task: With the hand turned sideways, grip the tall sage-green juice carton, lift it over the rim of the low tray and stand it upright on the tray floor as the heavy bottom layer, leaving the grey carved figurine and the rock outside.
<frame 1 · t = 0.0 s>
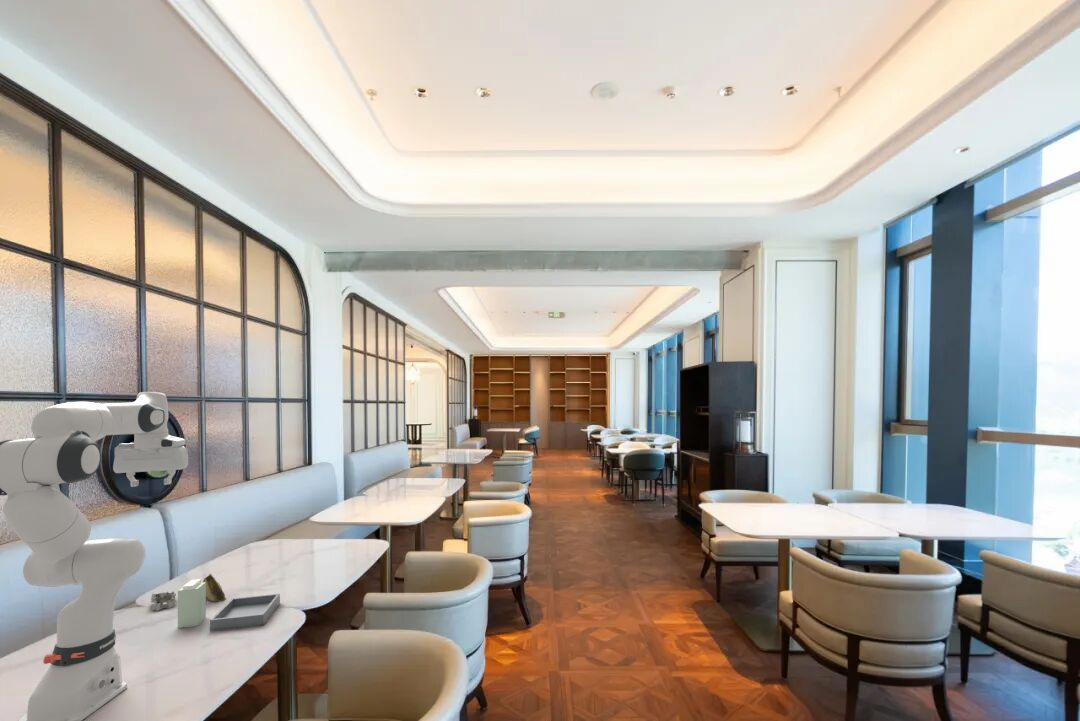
hand: (151, 485, 166), 48 cm above the table, tool pointing down, fingers open, 8 cm apart
rock: (213, 598, 195), on the table
juice carton: (192, 622, 174), on the table
tray: (246, 616, 177), on the table
grey carved figurine: (163, 606, 190), on the table
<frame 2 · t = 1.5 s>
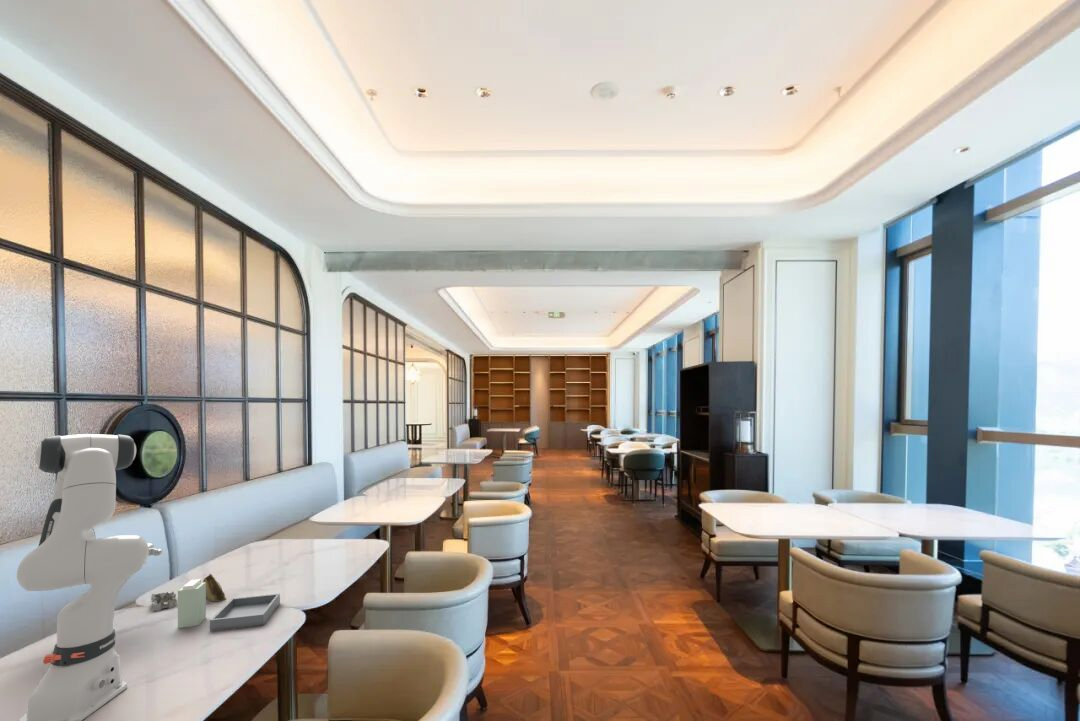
hand: (153, 556, 173), 23 cm above the table, tool horizontal, fingers open, 8 cm apart
nothing on the table moved.
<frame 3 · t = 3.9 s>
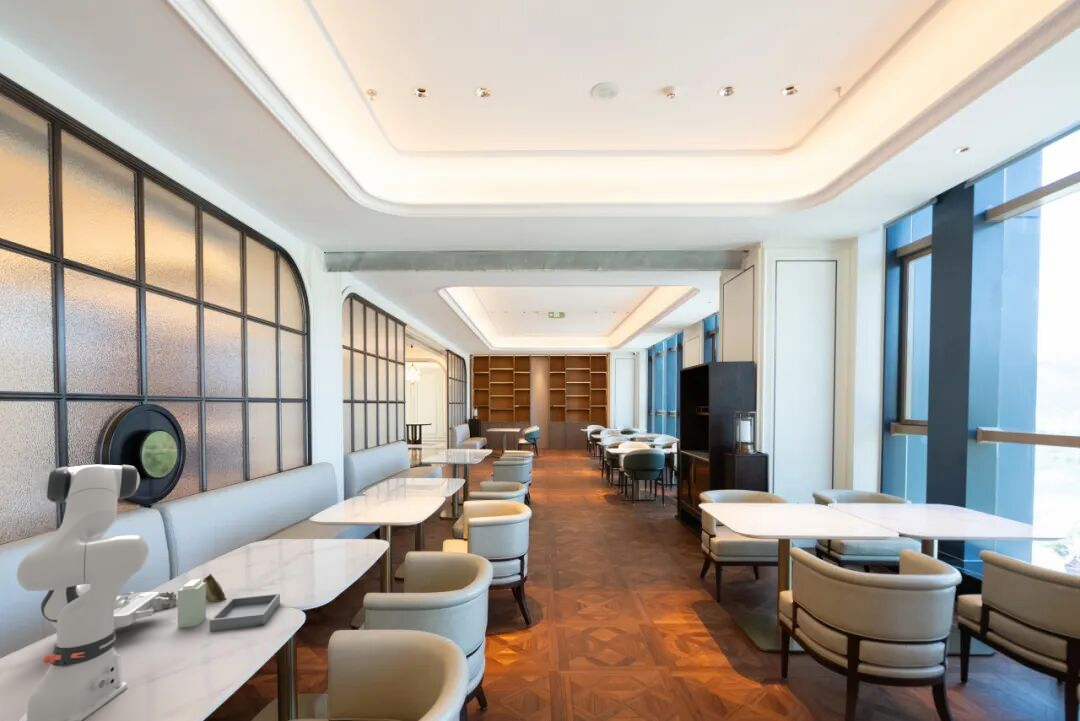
hand: (161, 606, 172), 6 cm above the table, tool horizontal, fingers open, 8 cm apart
nothing on the table moved.
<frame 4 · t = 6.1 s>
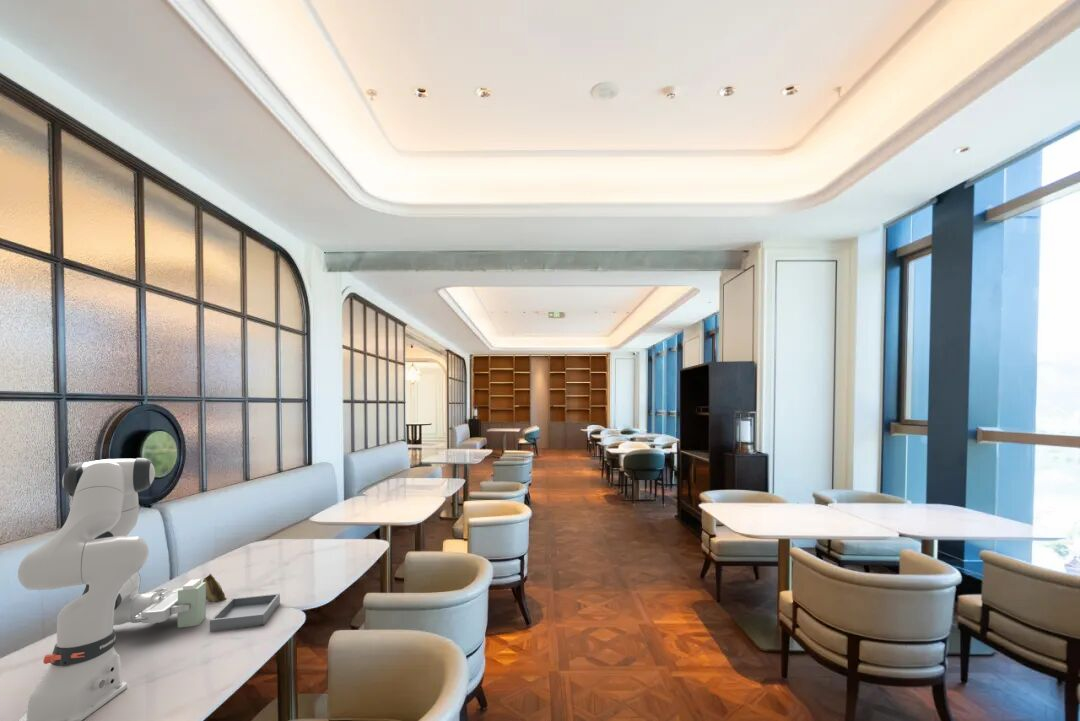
hand: (195, 602, 175), 7 cm above the table, tool horizontal, fingers closed on juice carton, 6 cm apart
juice carton: (192, 622, 174), on the table, touching gripper
everything else where it was.
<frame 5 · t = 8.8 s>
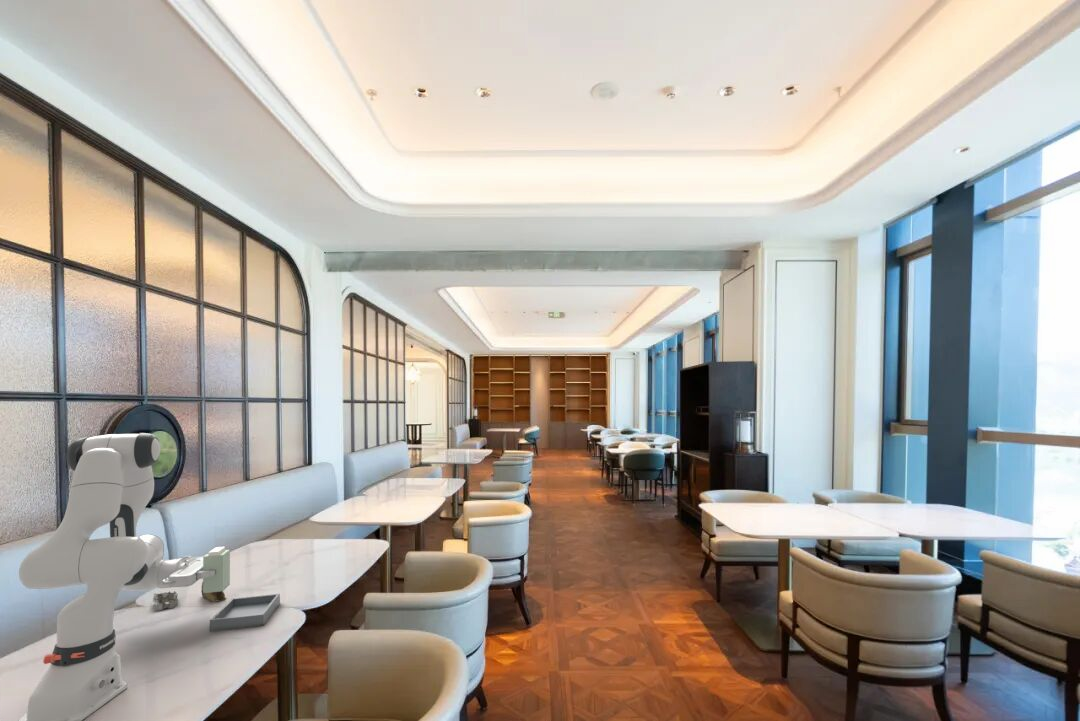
hand: (219, 569, 177), 17 cm above the table, tool horizontal, fingers closed on juice carton, 6 cm apart
juice carton: (216, 588, 176), point 10 cm above the table, touching gripper
everything else where it was.
when the fingers open (9 cm above the table, at t = 11.5 s): juice carton drops 1 cm, resting on tray.
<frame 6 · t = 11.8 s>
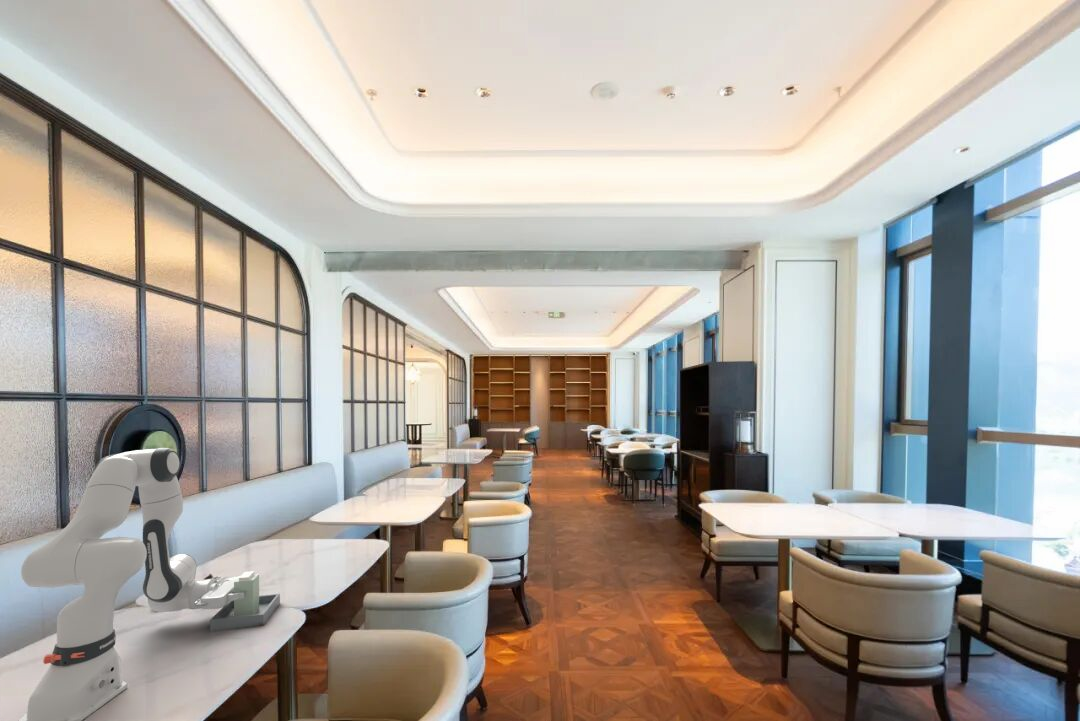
hand: (249, 589, 178), 9 cm above the table, tool horizontal, fingers open, 8 cm apart
juice carton: (246, 613, 177), point 1 cm above the table, touching tray
everything else where it was.
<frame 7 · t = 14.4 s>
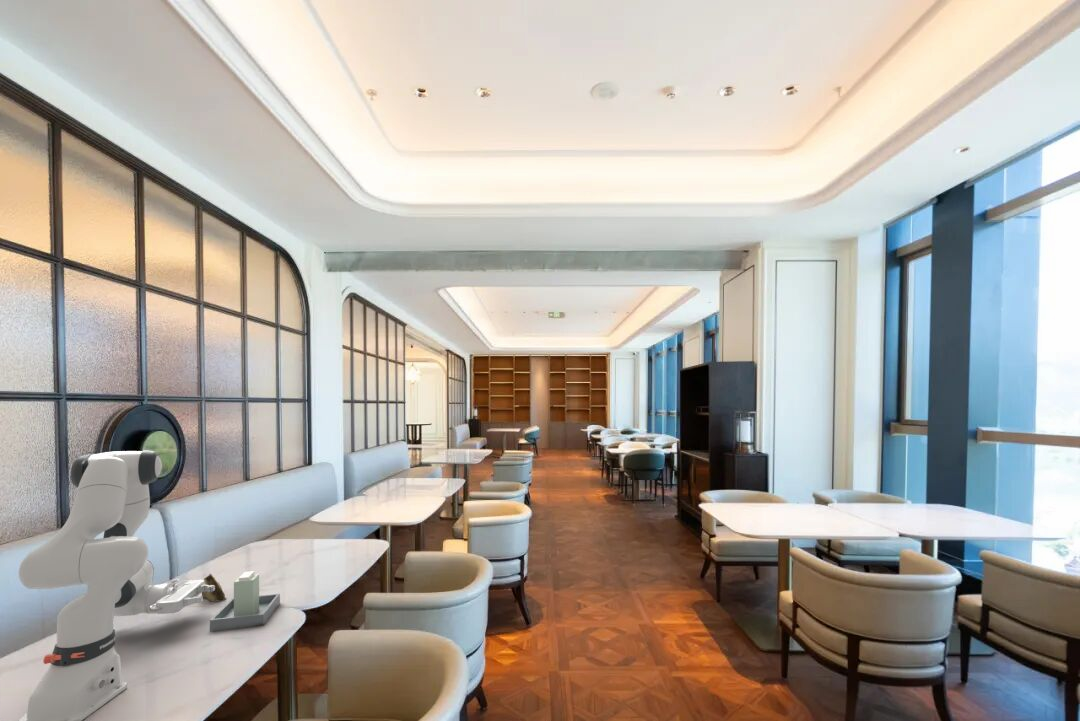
hand: (208, 593, 175), 9 cm above the table, tool horizontal, fingers open, 8 cm apart
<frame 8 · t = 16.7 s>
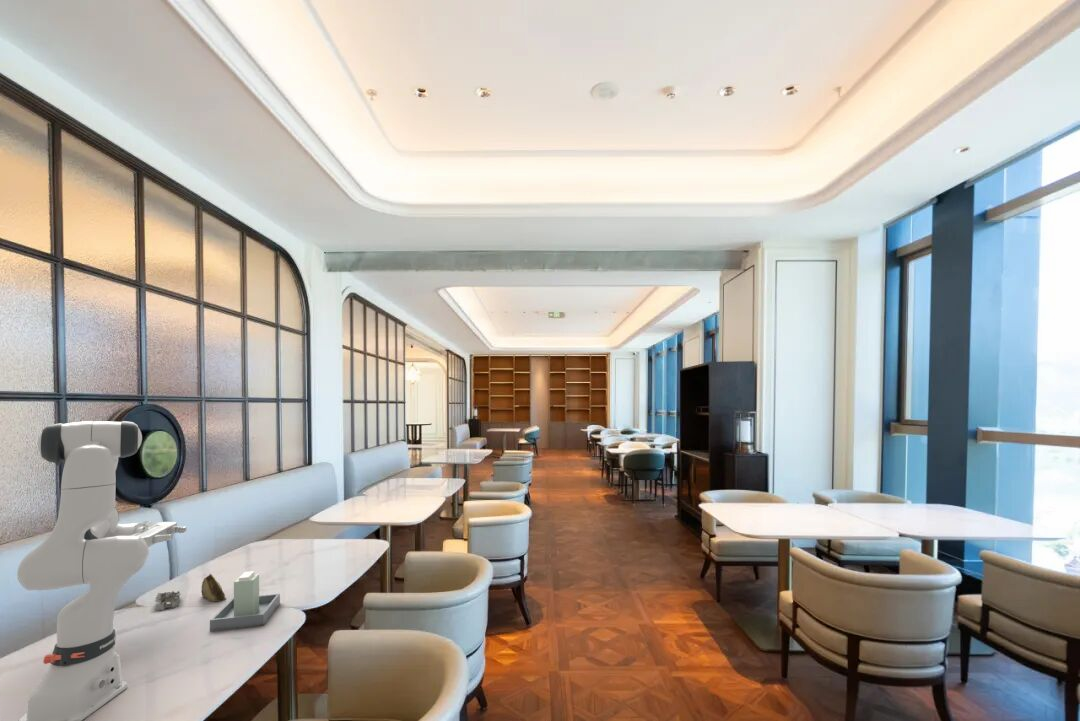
hand: (178, 533, 175), 30 cm above the table, tool horizontal, fingers open, 8 cm apart
at the end: juice carton inside the target area on the tray (0.0 cm from its centre), point 1.0 cm above the tray's base; juice carton tilted 0°; the gripper is holding nothing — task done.
